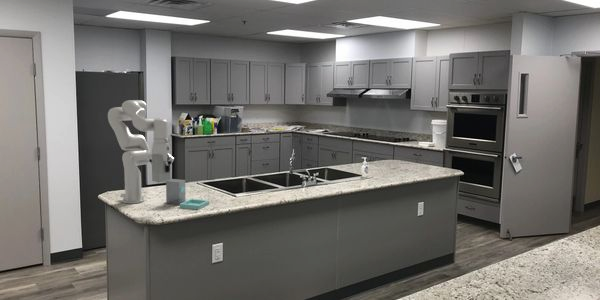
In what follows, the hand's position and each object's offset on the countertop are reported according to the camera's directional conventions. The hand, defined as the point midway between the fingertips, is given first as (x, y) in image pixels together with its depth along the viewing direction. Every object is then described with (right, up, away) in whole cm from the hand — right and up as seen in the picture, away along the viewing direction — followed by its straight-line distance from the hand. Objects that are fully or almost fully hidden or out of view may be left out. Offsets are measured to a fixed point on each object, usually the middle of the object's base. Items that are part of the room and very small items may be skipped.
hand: (161, 171), depth 276 cm
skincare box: (0, -6, +1) cm, 6 cm away
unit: (+3, -20, +21) cm, 29 cm away
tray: (+16, -21, +15) cm, 31 cm away
